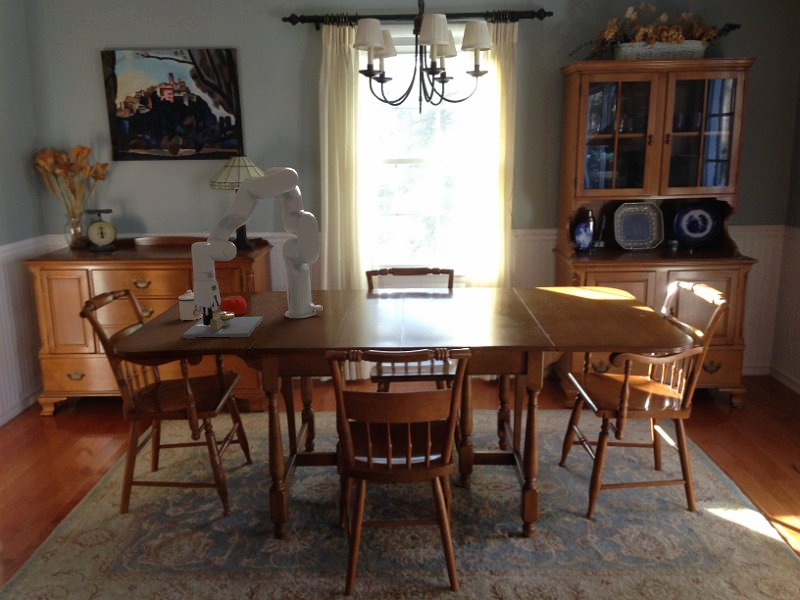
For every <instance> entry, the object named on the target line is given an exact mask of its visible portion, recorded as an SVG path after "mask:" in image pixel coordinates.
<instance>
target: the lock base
mask: <svg viewBox="0 0 800 600" xmlns="http://www.w3.org/2000/svg"><path fill="white" fill-rule="evenodd" d="M263 320H264V319H263V316H234V318H233V319H230V320H225V321H224V326H223V327H221V328H220V329H219V330H211V325H208V326H206V325H204V324H203V317H202V318H201V319H198V321H196V323H195V324H193V325H192V326H191V327H190V328H189V329H188V330H186V331H185V332H184V333H183V334H182V339H183V338H186V339H196V338H195V337H230V338H249V337H250V336H251V335H252V334H253V333H254V331H255V330H256V329H257V328H258V327H259V325H260V324H261V323H262V322H263ZM261 321H262V322H261ZM256 327H257V328H256ZM255 328H256V329H255ZM252 332H253V333H252ZM251 333H252V334H251Z"/></svg>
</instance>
